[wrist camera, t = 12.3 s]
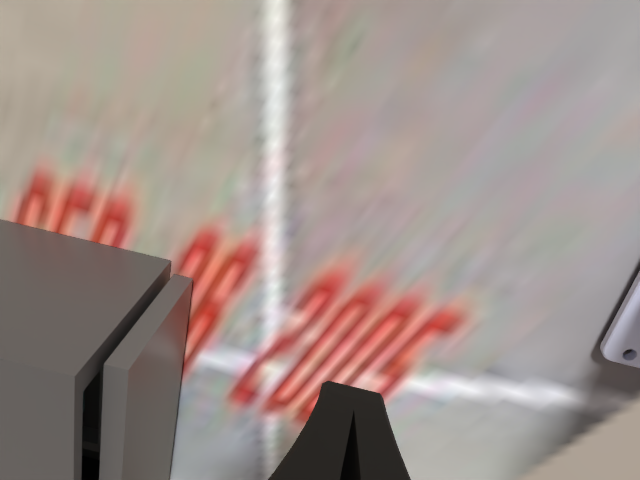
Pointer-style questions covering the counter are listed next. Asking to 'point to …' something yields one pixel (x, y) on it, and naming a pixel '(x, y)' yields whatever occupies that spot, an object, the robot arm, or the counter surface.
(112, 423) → the tray
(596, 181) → the counter surface
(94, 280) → the dark grey cuboid box
